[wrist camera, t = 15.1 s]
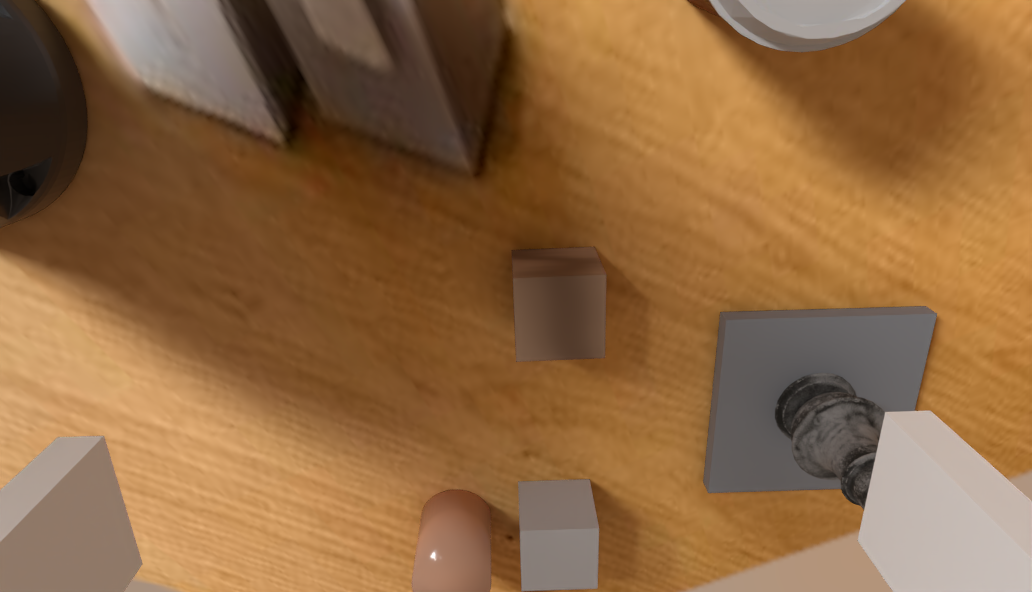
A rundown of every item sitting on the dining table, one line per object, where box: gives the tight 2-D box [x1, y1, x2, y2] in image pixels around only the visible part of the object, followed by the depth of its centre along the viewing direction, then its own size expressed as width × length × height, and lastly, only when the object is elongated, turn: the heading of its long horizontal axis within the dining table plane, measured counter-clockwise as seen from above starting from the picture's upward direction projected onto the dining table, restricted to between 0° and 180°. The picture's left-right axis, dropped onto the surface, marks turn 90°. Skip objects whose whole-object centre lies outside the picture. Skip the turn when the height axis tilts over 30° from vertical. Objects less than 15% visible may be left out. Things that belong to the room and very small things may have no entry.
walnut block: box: [512, 247, 606, 362], centre depth 39 cm, size 5×5×5 cm
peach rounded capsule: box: [412, 490, 491, 592], centre depth 45 cm, size 5×5×6 cm
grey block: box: [518, 479, 599, 591], centre depth 45 cm, size 5×5×5 cm
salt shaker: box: [775, 372, 885, 509], centre depth 38 cm, size 6×6×12 cm
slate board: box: [703, 306, 937, 493], centre depth 44 cm, size 13×13×1 cm
